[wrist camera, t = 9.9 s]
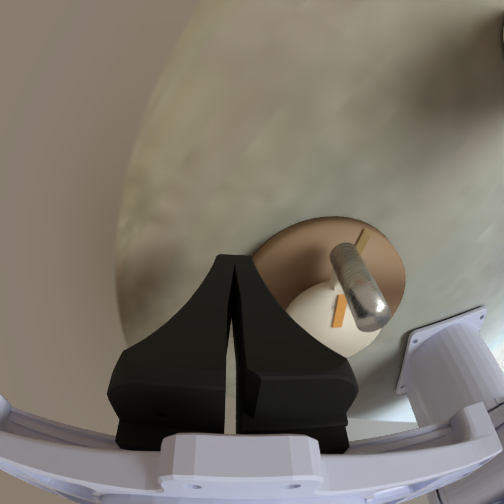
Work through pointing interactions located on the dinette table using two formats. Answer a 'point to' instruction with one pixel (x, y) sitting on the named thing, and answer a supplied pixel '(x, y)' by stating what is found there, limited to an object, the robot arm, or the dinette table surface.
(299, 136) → the dinette table surface
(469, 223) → the dinette table surface
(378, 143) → the dinette table surface
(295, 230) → the base
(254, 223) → the dinette table surface
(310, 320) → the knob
